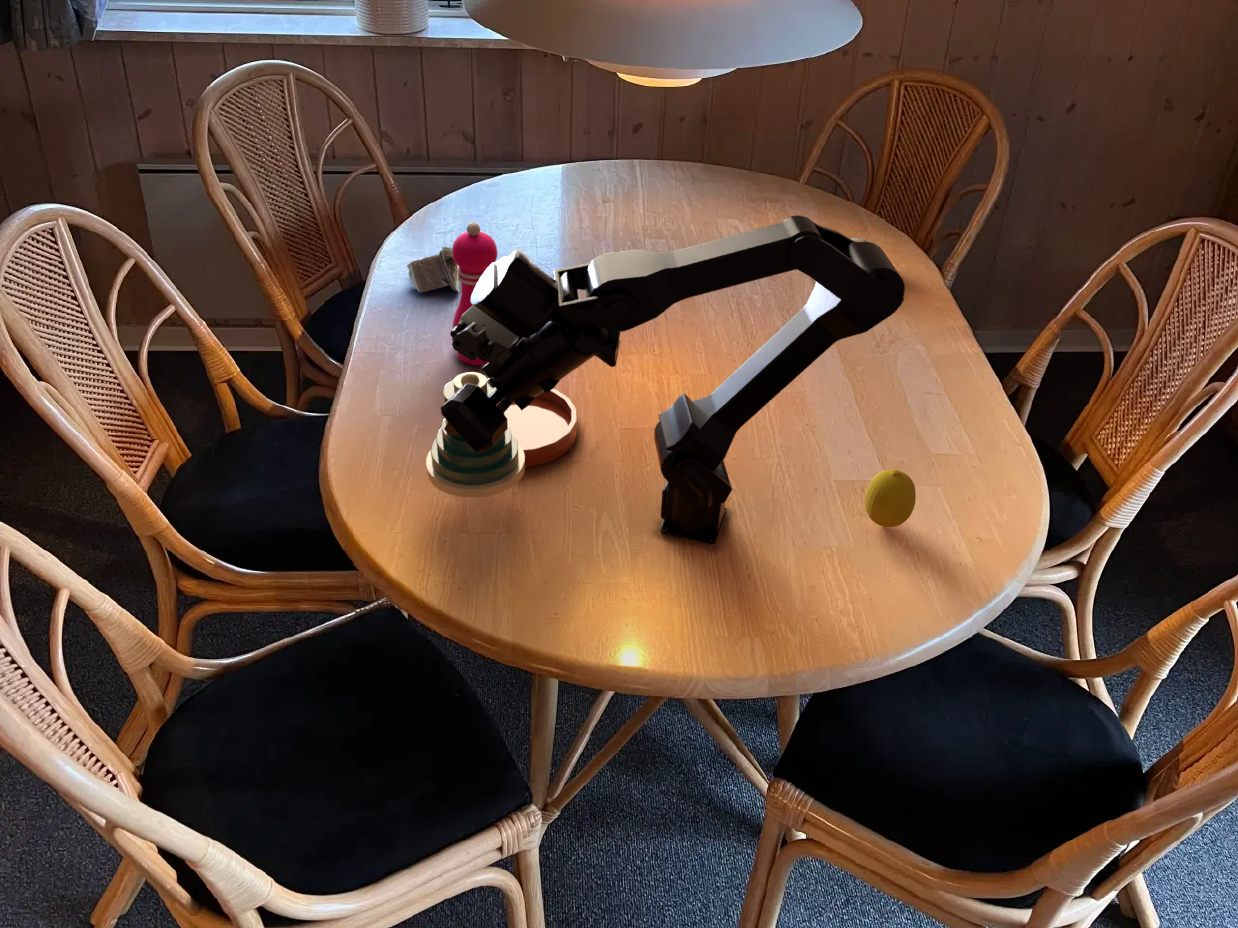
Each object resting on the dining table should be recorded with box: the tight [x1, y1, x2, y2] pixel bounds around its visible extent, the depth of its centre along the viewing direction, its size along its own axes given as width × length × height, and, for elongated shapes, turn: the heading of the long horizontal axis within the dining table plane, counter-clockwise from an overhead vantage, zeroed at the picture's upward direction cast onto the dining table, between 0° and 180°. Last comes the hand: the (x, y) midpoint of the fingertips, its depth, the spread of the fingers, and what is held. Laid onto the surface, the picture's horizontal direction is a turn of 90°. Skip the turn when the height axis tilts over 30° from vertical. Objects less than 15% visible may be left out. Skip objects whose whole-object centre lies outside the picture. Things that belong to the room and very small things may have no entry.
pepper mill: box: [451, 221, 498, 366], centre depth 144 cm, size 7×7×20 cm
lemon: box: [864, 468, 917, 528], centre depth 120 cm, size 6×6×8 cm
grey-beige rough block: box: [406, 246, 461, 294], centre depth 165 cm, size 10×7×12 cm
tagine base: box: [499, 388, 578, 468], centre depth 134 cm, size 15×16×3 cm
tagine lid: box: [425, 371, 526, 499], centre depth 116 cm, size 11×11×13 cm
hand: (461, 416), depth 117 cm, fingers closed on tagine lid, 6 cm apart
